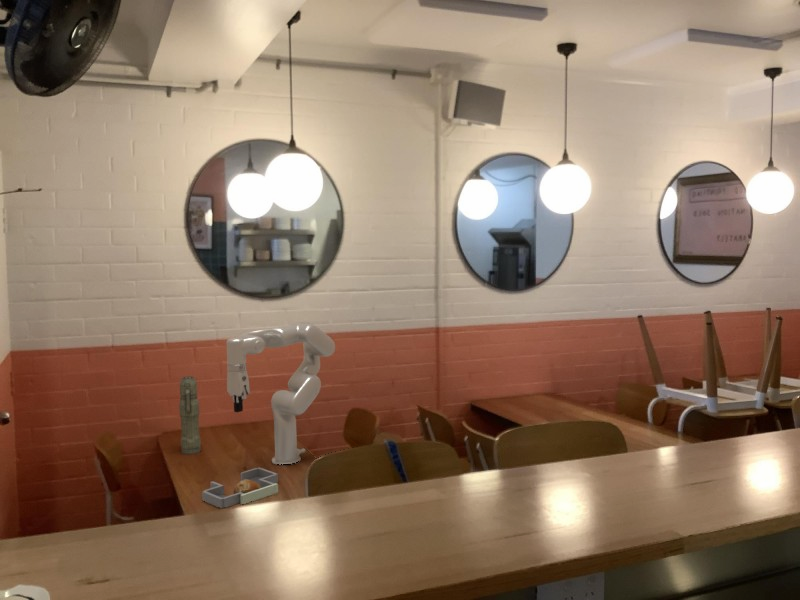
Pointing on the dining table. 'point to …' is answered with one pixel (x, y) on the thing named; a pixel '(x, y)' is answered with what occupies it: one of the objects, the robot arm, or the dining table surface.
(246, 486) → the bread roll
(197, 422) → the grey green carved statue
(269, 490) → the channel
